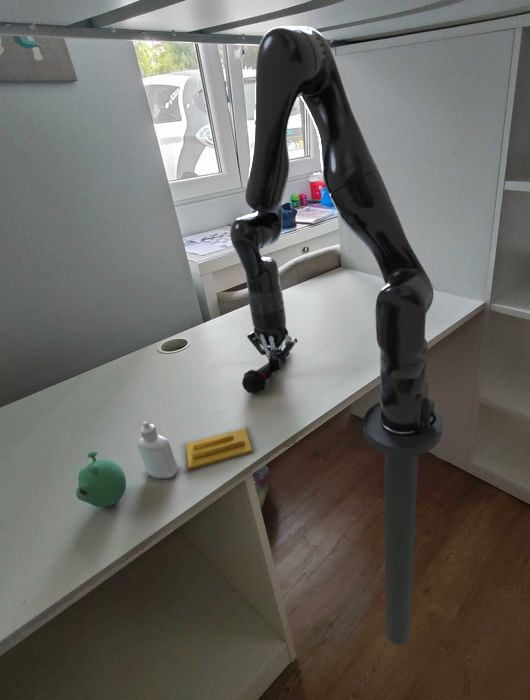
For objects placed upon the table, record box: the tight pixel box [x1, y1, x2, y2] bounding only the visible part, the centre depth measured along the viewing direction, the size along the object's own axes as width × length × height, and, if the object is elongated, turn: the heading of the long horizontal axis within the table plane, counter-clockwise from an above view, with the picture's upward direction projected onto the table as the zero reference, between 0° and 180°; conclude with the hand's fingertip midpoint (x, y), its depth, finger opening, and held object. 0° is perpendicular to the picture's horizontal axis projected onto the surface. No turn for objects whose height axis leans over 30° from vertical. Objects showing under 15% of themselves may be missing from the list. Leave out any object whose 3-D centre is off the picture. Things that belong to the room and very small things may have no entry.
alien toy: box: [75, 450, 127, 508], centre depth 75 cm, size 7×8×10 cm
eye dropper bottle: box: [136, 420, 179, 479], centre depth 80 cm, size 4×6×12 cm
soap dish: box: [185, 427, 253, 470], centre depth 87 cm, size 12×7×2 cm, turn 110°
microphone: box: [241, 351, 291, 394], centre depth 109 cm, size 6×6×20 cm
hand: (276, 370), depth 107 cm, fingers closed
